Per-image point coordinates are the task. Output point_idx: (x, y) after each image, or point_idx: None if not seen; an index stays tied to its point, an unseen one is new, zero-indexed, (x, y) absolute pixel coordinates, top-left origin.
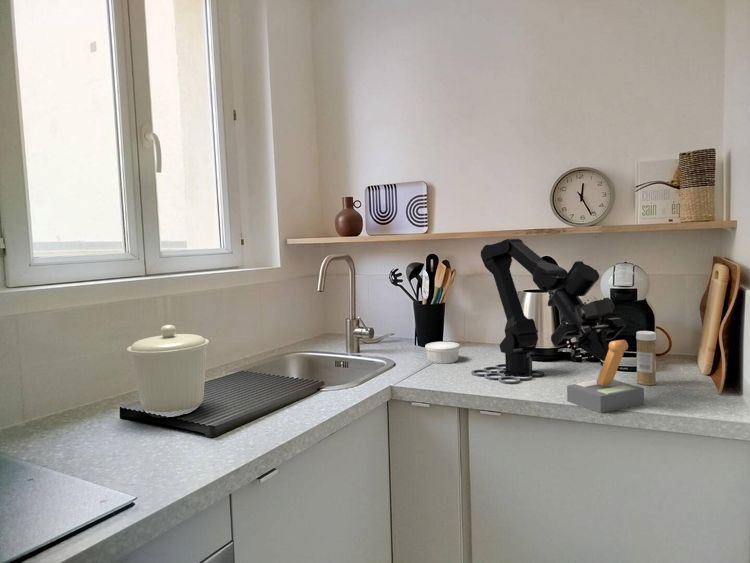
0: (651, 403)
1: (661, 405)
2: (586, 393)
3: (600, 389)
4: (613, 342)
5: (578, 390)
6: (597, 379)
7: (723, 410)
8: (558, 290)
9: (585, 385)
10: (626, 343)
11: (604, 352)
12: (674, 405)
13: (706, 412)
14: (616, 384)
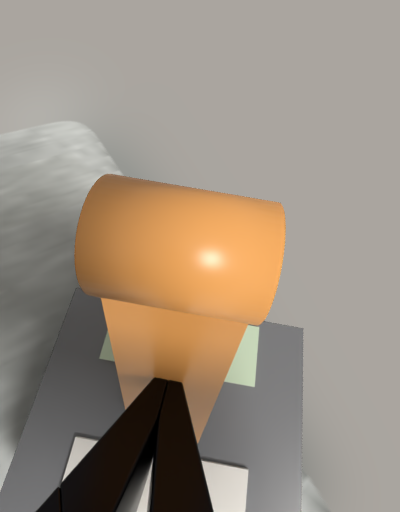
0: (71, 293)
1: (72, 265)
2: (300, 407)
3: (236, 382)
4: (282, 233)
5: (298, 466)
6: (198, 439)
7: (15, 160)
8: None
9: (234, 484)
10: (131, 178)
11: (175, 437)
12: (47, 243)
13: (59, 175)
14: (95, 396)
